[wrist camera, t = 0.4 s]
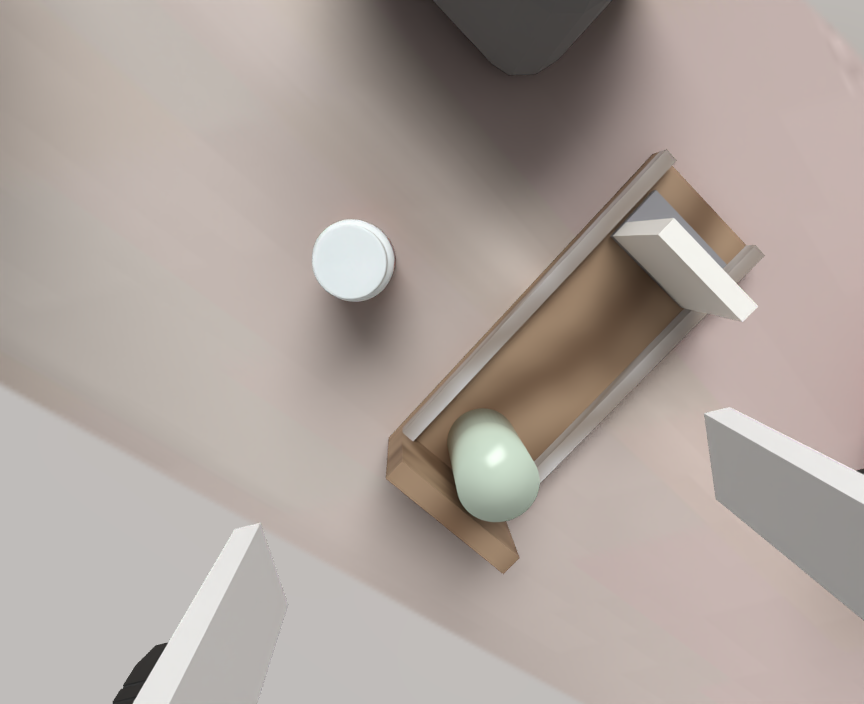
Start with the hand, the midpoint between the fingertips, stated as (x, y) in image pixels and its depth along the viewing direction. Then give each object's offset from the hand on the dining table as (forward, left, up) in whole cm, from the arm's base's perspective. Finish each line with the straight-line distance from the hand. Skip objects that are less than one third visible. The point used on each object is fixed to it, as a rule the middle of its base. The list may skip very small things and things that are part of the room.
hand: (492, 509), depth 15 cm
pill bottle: (-8, +1, -24) cm, 25 cm away
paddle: (+7, +16, -22) cm, 28 cm away
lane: (+7, +6, -24) cm, 25 cm away
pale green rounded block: (+7, -3, -22) cm, 24 cm away
